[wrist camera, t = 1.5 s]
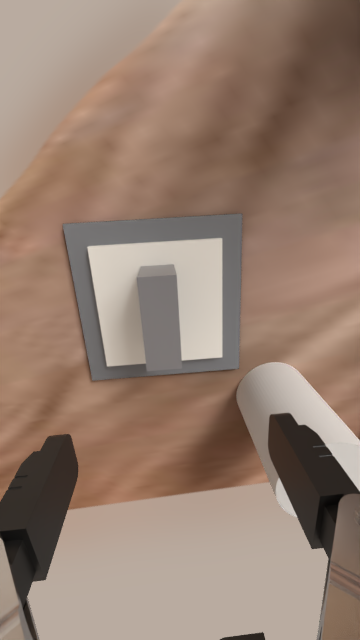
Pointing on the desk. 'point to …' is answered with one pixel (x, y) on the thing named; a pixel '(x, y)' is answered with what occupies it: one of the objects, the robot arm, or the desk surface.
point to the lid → (159, 301)
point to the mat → (157, 231)
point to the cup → (307, 409)
